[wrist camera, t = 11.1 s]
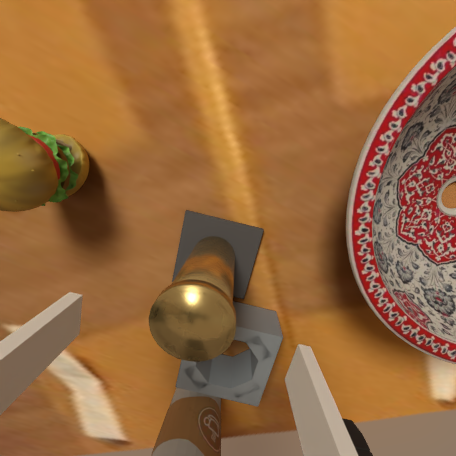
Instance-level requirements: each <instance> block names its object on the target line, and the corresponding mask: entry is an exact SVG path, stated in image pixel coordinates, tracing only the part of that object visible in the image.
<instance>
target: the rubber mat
mask: <svg viewBox="0 0 456 456" xmlns="http://www.w3.org/2000/svg"><path fill="white" fill-rule="evenodd" d="M263 231H264V230H263V229H262V228H258V227H254V226H250V225H246V224H241V223H237V222H233V221H229V220H225V219H221V218H217V217H213V216H209V215H205V214H200V213H196V212H192V211H188V210H186V212H185V217H184V222H183V228H182V233H181V238H180V243H179V248H178V254H177V259H176V264H175V269H174V274H173V280H172V282H173V281H174V279H175V278H176V276H177V275H178V273H179V271H180V270H181V268H182V267H183V265H184V263H185V262H186V260H187V258H188V257H189V255H190V254H191V252H192V250H193V249H194V247H195V246H196V244H197V243H198V242H199V241H200V240H202V239H203V238H206V237H209V236H217V237H221V238H223V239H225V240H226V241H228V242H229V243H230V244H231V246H232V247H233V249H234V252H235V268H234V286H233V297H237V298H242V299H244V296H245V293H246V289H247V286H248V282H249V279H250V275H251V272H252V268H253V265H254V262H255V258H256V255H257V251H258V248H259V244H260V241H261V237H262V234H263Z"/></svg>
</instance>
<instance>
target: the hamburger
mask: <svg viewBox="0 0 456 456" xmlns="http://www.w3.org/2000/svg"><path fill="white" fill-rule="evenodd" d="M88 173H89V159H88V155H87V153H86V151H85V149H84V148H83V146H82V145H81V144H80V143H79V142H77V141H76V140H75V139H74V138H73V137H70V136H67V135H50V134H47V133H45V132H42V131H41V132H37V133H32V131H31V129H28V128H24V127H17V126H15V125H12V124H10V123H9V122H7V121H6V120H4V119H1V118H0V210H1V211H25V210H30V209H33V208H36V207H39V206H45V203H46V202H48V201H50V202H61V201H62V200H64V199H67V198H68V196H70V195H72V194H74V193H75V192H76V191H78V190H79V189H80V188H81V186H82V185H83V184H84V182H85V180H86V179H87V176H88Z"/></svg>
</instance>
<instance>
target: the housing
mask: <svg viewBox="0 0 456 456" xmlns="http://www.w3.org/2000/svg"><path fill="white" fill-rule="evenodd" d="M233 305H234V308H235V312H236V332H235V336H234V340H238V341H242V342H246V343H247V345H248V346H249V348H250V349H249V350H246V351H244V352H242V353H240V354H238V355H236V356H234V357H231V356H227V355H222V354H221V355H219V356H217V357H215V358H213V359H210V360H206V361H200V362H193V361H185V360H182V361H181V365H180V369H179V374H178V378H177V383H176V387H177V388H181V389H185V390H189V391H194V392H198V393H202V394H207V395H211V396H215V397H219V398H224V399H228V400H232V401H236V402H241V403H245V404H249V405H253V406H258V405H259V403H260V400H261V397H262V394H263V392H264V389H265V386H266V383H267V380H268V378H269V375H270V372H271V369H272V367H273V364H274V361H275V358H276V355H277V353H278V350H279V347H280V344H281V342H282V339H283V335H282V332H281V328H280V324H279V321H278V317H277V313H276V311H272V310H268V309H264V308H260V307H255V306H251V305H247V304H243V303H239V302H235V301H233Z"/></svg>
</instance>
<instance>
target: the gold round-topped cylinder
mask: <svg viewBox="0 0 456 456" xmlns="http://www.w3.org/2000/svg"><path fill="white" fill-rule="evenodd" d="M234 268H235V252H234V249H233V247H232V246H231V244H230V243H229V242H228V241H226V240H225V239H223V238H221V237H217V236H209V237H206V238H203V239H202V240H200V241H199V242H198V243H197V244H196V246H195V247H194V249H193V250H192V252H191V254H190V255H189V257H188V258H187V260H186V262H185V263H184V265H183V267H182V268H181V270H180V271H179V273H178V275H177V276H176V278H175V279H174V281H173V283H172V284H171V285H170V286H168V287H167V288H166V289H164V290H163V291H162V292H161V294H160V295H159V296H158V298H157V299H156V301H155V303H154V304H153V306H152V308H151V311H150V315H149V326H150V331H151V333H152V336H153V338H154V339H155V341H156V342H157V344H158V345H159V346H160V347H161V348H162V349H163V350H164V351H166V352H167V353H168V354H170V355H172V356H174V357H176V358H178V359H182V360H185V361H193V362H200V361H206V360H210V359H213V358H215V357H217V356H219V355H221V354H222V353H223V352H225V351H226V350H227V349H228V347H229V346H230V345H231V343H232V341H233V339H234V336H235V332H236V312H235V308H234V305H233V286H234Z"/></svg>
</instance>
